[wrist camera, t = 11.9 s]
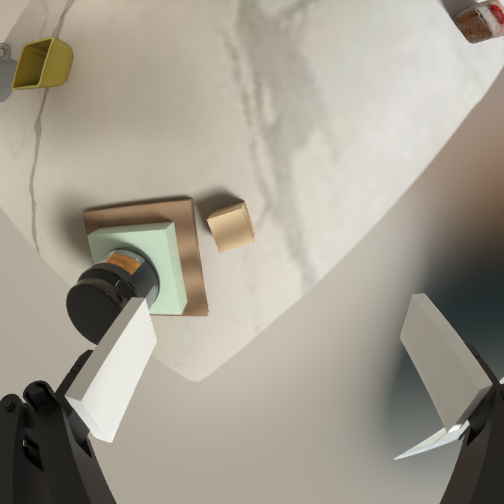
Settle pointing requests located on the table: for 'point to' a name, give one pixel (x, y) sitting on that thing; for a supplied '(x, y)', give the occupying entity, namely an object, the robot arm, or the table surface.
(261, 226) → the table surface
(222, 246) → the block
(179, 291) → the pedestal slab
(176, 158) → the table surface
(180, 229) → the board
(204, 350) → the table surface
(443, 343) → the robot arm
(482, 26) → the food item
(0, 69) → the coffee mug
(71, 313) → the supplement container
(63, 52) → the flower pot
